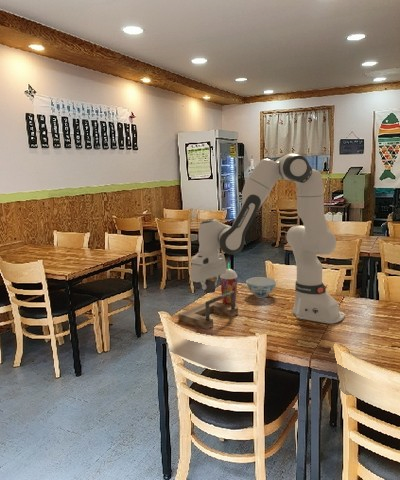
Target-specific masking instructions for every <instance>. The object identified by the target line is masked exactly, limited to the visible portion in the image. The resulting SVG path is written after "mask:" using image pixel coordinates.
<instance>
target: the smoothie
mask: <svg viewBox="0 0 400 480" xmlns="http://www.w3.org/2000/svg"><path fill="white" fill-rule="evenodd" d="M219 279H220V288H221V291H220V292H221V296H222V295H224V294H227V293H229V292H231V291H235V302H236V301H237V290H238V287H237V286H238V274H237V273H236V271H235V270H234V269H232V268H230V263H227V268H226V273H224V274H221V275H219ZM221 302H223V303H222V304H226V305H230V306H231V295H230V296H228V297H225V298H223V299H221Z"/></svg>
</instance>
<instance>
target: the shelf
mask: <svg viewBox="0 0 400 480" xmlns="http://www.w3.org/2000/svg"><path fill="white" fill-rule="evenodd" d="M230 295H231V305H226V304H224V303H222V302H218V301H222V299H223V298H225V297H228V296H230ZM213 312H214V313H216V314H221V315H224V316H227V317H231V318H232V317H235V316H237V315H239V307H237V306H236V301H235V291H231V292H229V293H227V294H224V295H222V294H221V295H219V296H217V297H215V298H212V299H210V300H207V301H205V302H203V303H202V304H199V305H196V306H194V307H192V308H190V309H186V310H184V311H182V312H180V313H178V321H180V322H183V323H186V324H189V325H192V326H194V327H195V326H196V327H198V328H201V329H205V330H208V329H210V328H212V327H214V319H213V318H210V317H211V316H210V315H211V314H210V313H213Z"/></svg>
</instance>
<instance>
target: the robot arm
mask: <svg viewBox="0 0 400 480" xmlns="http://www.w3.org/2000/svg"><path fill="white" fill-rule="evenodd" d="M279 180H285V181H289V182H290V181H293V182H294V183H295V185H296V212H297V215H298V217H299V218H300V219H301V222H302V223H303V225H302V224H301V225H294V226H291V227H290V228H289V229H288V230H287V233H286V237H285V238H286V242H287V243H288V245H289V246H290V248H291V250H292V253H293V255H294V260H295V266H296V281H295V287H294V288H295V289H294V291H295V297H294V304H293V308H292V311H291V312H292V313H293V314H294V315H295V317H296V318H297V319H301V320H307V321H313V322H317V323H325V324H328V325H329V324H330V325H331V324H337V323H339V322H341V321H342V320H344V318H345V313H344V312H342V311H340V305H339V303H338V300H336V299H335V298H334V297H332V296H331V295H330V294H329V293H328V292H327V288H328V284H324V283H323V264H322V263H321V261H320V260H319V258H318V255H320V256H321V255H322V256H323V255H324V256H325V255H326V256H327V255H330V254H332V253H333V251H335V249H336V247H337V238H336V236H335V234H334V233H333V232H332V231H331V229H330V228H329V225H328V223H327V219H326V216H325V205H324V204H325V203H324V200H325V199H324V191H325V190H324V183H323V176H322V174H321V172H320V171H319V170H317V169H315V168H312V167H311V165H310V163H309V161H308V159H307V158H306V157H305V156H304V155H302V154H298V153H287V154H284V155H281V156H279V157H278V158H276V159H275V160H273V159H270V158H263V159H260V161H259V162H258V163H257V164H256V165H255V167H254V168H253V169H252V171H251V173H250V174H249V175H248V178H247V179H246V181H245V183H244V185H243V189H242V191H241V207H240V210H239V212H238V213H237V215H236V218H235V220H234V221H233V223H232V226H231V225H228V224H225V223H223V222H220V221H219V220H218V219H217V218H209V219H205V220H203V221H201V222H200V224H199V226H198V244H199V247H198V252H197V253H196V254H195V255H193V256H192V257H191V259H190V263H191V266H190V280H191V281H192V282H194V283H200V285H201V289H202V290H203V291H204V290H205V289H207V285H206V284H205V282H206V279H215V287H216V286H217V283H218V280H219V276H220V275H221V274H224V273H226V269H227V263H226V258H225V255H224V253H225V254H227V255H230V256H234V255H236V254H238V253H240V252H242V250H243V249H244V246H245V243H246V242H245V240H246V239H245V238H246V234H247V232H248V230H249V228H250V226H251V224H252V222H253V220H254V218H255V216H256V214H257V212H258V211H259V210H260V208H261V207H262V205H263V204H264V203H265V201H266V199H267V198H268V196H269V195H270V193H271V192H272V189H273V187H274V186H275V184H276V183H277V181H279ZM220 249H221V251H222V252H223V253H220Z"/></svg>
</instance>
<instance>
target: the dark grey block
mask: <svg viewBox="0 0 400 480" xmlns="http://www.w3.org/2000/svg"><path fill="white" fill-rule="evenodd" d="M205 284H206V285H207V289H205V290H204V289H203V293H206V294H212V293H215V292H216V286H215V279H213V278H209V279H206V282H205Z"/></svg>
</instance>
